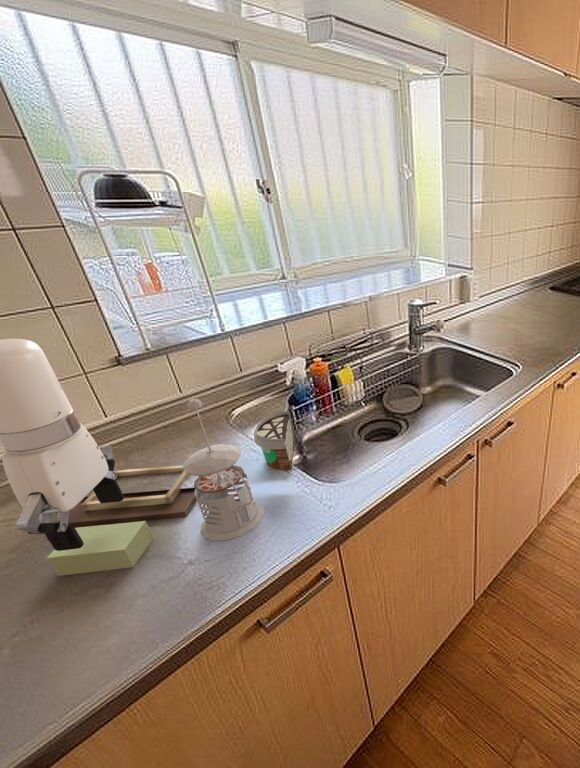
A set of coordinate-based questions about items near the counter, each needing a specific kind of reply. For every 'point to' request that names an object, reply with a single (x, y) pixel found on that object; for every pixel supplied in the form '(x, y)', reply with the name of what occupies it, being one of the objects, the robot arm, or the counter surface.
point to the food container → (276, 440)
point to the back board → (136, 503)
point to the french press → (222, 490)
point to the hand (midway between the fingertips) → (93, 523)
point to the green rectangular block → (103, 549)
